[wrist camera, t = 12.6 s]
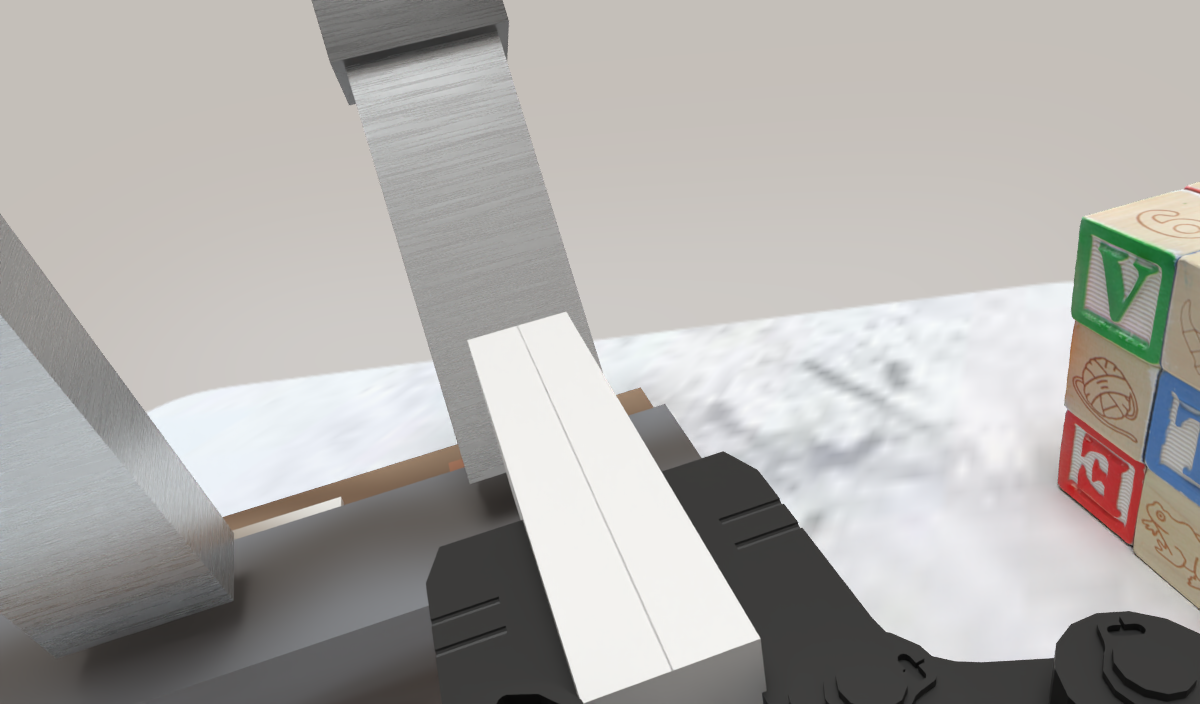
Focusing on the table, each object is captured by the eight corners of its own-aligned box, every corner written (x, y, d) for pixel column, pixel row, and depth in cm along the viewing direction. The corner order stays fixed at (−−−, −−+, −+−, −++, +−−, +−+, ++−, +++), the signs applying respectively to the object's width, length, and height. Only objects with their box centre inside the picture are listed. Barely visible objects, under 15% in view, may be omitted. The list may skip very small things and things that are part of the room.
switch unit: (850, 733, 20) (841, 585, 18) (-583, 1293, 16) (-858, 1198, 13) (644, 407, 34) (623, 299, 32) (-152, 658, 30) (-247, 554, 27)
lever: (635, 432, 21) (472, -96, 22) (457, 489, 20) (294, -58, 21) (619, 431, 24) (474, -37, 24) (461, 481, 23) (317, -2, 24)
